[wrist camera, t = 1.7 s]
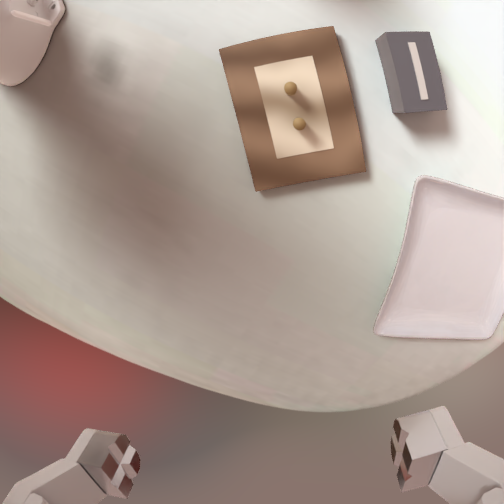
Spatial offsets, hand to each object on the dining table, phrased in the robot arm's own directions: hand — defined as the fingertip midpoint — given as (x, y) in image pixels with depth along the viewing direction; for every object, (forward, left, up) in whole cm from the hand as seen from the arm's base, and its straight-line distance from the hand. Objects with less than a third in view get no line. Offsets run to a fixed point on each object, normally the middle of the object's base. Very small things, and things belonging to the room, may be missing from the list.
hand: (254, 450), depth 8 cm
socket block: (-11, +16, -30) cm, 36 cm away
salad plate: (+13, +21, -31) cm, 39 cm away
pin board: (-9, +3, -30) cm, 31 cm away
